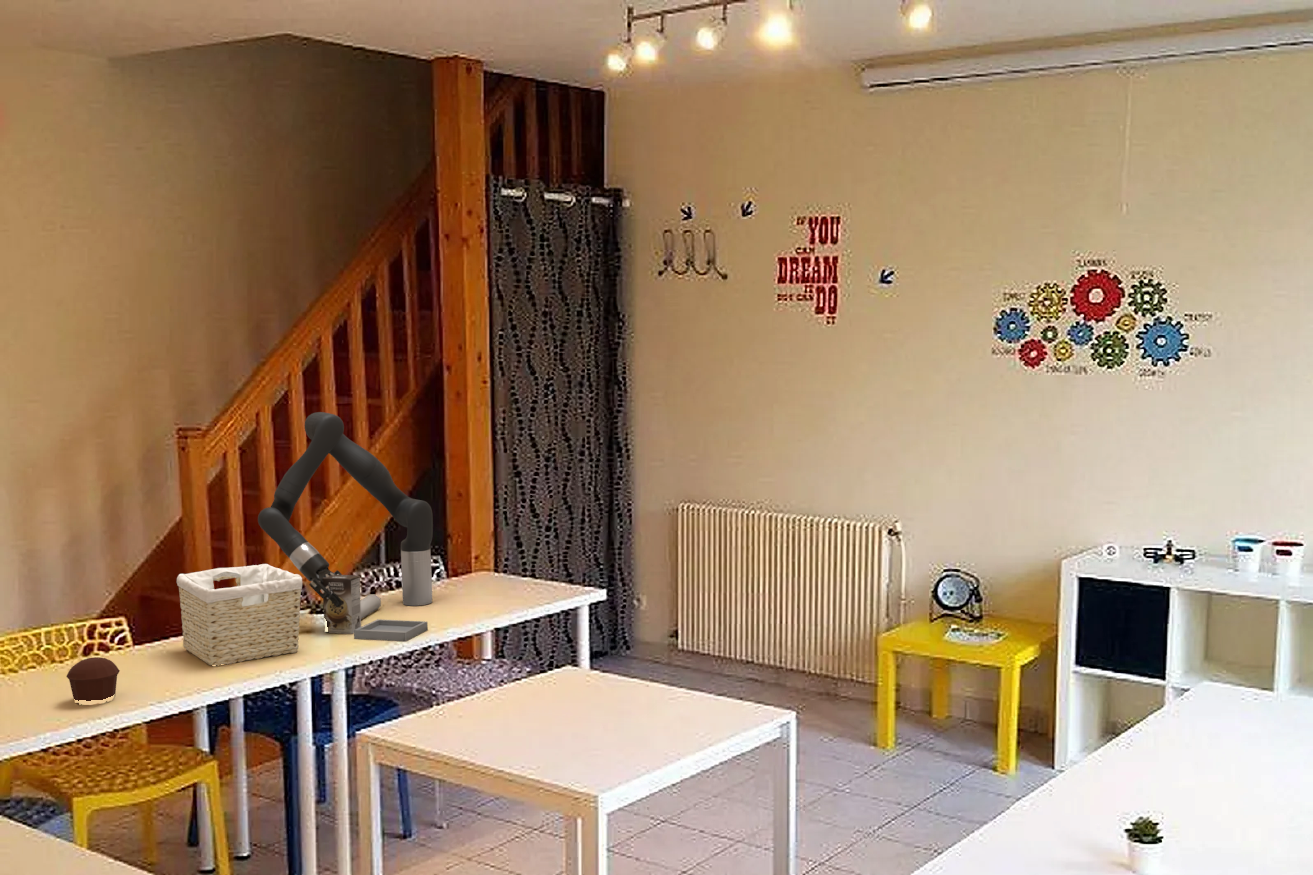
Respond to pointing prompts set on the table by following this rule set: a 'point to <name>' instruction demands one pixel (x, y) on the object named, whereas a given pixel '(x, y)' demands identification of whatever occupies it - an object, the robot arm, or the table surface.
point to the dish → (390, 630)
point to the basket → (240, 613)
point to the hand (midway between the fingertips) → (346, 602)
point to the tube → (369, 604)
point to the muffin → (93, 679)
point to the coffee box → (350, 610)
